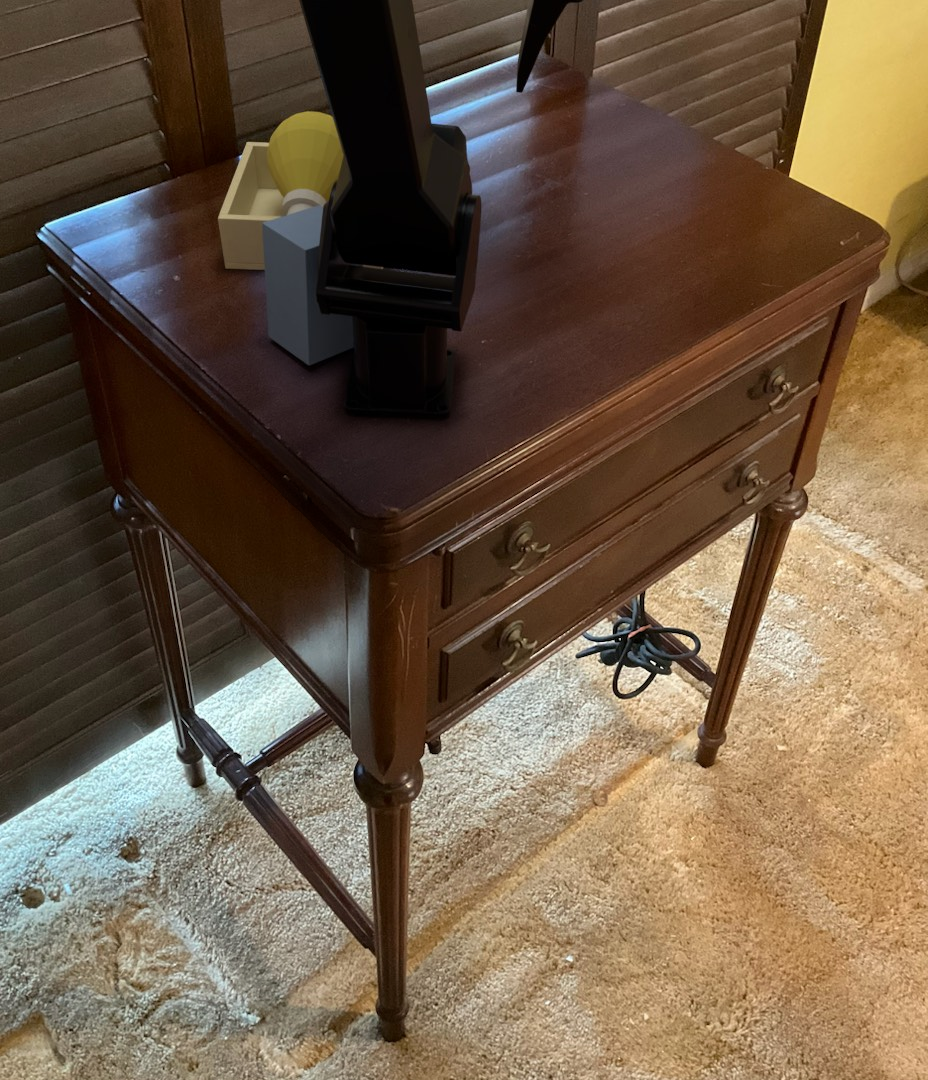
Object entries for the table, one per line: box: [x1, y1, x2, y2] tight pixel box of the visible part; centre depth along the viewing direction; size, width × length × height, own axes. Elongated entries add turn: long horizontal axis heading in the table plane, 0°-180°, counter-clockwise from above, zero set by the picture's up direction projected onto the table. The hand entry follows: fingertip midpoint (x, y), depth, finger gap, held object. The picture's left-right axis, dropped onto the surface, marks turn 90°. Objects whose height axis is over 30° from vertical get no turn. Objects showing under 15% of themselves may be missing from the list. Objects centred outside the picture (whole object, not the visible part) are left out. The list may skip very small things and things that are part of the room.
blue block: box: [262, 205, 363, 366], centre depth 70 cm, size 4×4×8 cm
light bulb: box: [266, 110, 343, 216], centre depth 80 cm, size 7×7×10 cm
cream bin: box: [217, 141, 385, 271], centre depth 81 cm, size 11×11×4 cm
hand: (446, 87), depth 71 cm, fingers open, 9 cm apart
